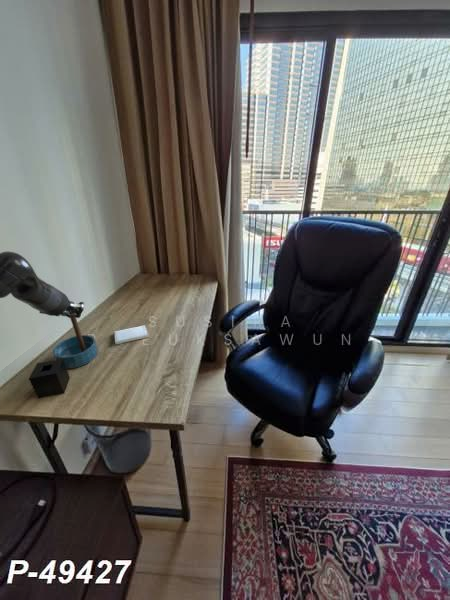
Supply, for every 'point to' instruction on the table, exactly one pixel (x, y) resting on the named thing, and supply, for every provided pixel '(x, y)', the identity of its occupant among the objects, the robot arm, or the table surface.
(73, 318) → the stick
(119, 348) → the table surface
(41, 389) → the holder
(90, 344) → the bowl
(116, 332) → the hard drive
